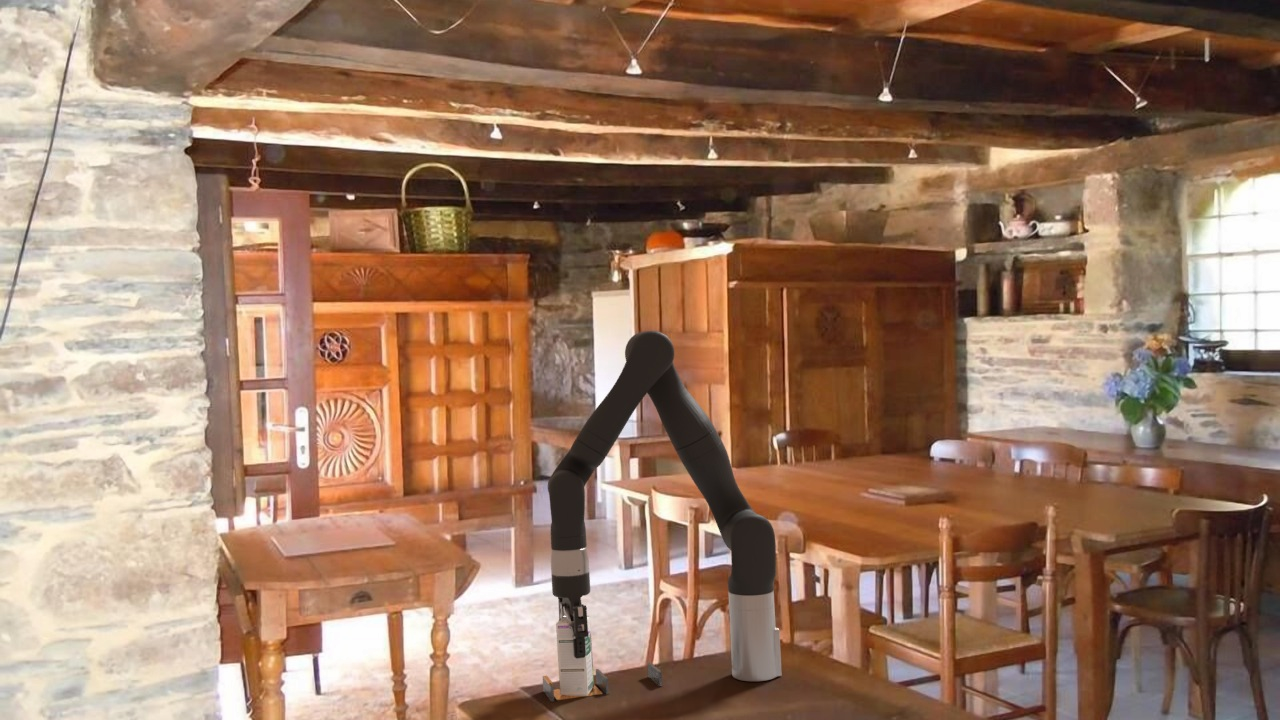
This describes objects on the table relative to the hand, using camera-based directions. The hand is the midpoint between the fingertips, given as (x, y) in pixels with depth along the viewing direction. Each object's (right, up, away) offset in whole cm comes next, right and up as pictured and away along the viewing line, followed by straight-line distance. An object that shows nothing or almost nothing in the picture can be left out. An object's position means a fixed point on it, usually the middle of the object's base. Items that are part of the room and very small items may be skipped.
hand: (574, 652), depth 213 cm
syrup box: (0, -8, 0) cm, 8 cm away
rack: (+5, -8, +2) cm, 10 cm away
